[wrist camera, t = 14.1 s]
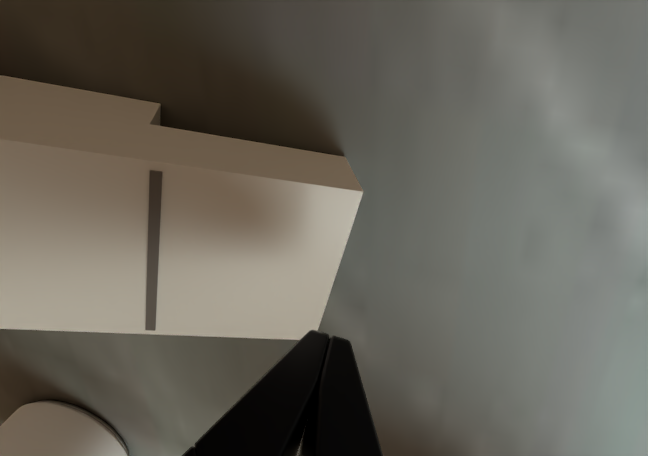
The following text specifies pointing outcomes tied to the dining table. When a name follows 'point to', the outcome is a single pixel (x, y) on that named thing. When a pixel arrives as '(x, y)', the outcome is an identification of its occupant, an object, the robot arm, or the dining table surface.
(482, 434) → the dining table surface
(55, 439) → the can
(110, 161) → the domino
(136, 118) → the domino
